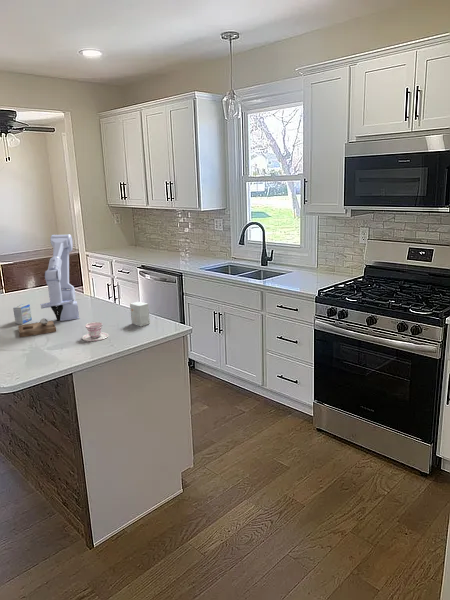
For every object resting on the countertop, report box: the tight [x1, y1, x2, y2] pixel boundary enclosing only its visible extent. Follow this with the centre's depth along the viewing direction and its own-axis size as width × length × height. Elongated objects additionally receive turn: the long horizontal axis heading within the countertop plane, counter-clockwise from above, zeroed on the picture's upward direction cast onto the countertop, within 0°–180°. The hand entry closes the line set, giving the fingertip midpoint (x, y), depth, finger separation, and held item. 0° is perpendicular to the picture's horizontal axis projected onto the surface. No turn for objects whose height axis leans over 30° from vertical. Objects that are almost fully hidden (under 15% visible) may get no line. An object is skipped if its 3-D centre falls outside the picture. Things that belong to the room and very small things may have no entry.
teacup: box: [81, 321, 110, 342], centre depth 211 cm, size 12×12×6 cm
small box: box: [129, 301, 151, 327], centre depth 229 cm, size 8×6×10 cm
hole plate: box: [17, 320, 57, 338], centre depth 224 cm, size 16×14×2 cm
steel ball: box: [39, 318, 49, 326], centre depth 225 cm, size 4×4×4 cm
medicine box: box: [12, 303, 32, 325], centre depth 239 cm, size 8×4×9 cm, turn 168°
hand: (58, 320), depth 228 cm, fingers closed
